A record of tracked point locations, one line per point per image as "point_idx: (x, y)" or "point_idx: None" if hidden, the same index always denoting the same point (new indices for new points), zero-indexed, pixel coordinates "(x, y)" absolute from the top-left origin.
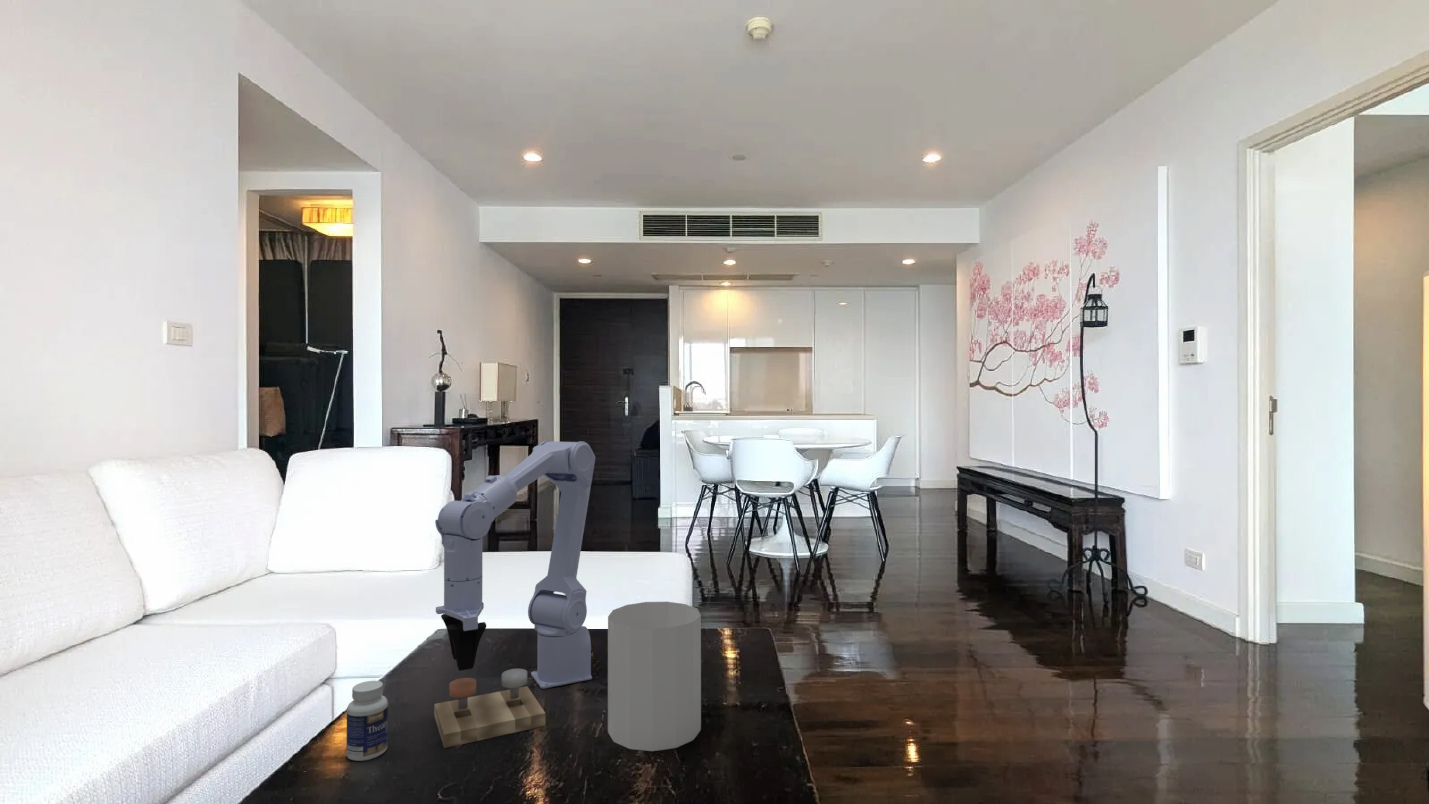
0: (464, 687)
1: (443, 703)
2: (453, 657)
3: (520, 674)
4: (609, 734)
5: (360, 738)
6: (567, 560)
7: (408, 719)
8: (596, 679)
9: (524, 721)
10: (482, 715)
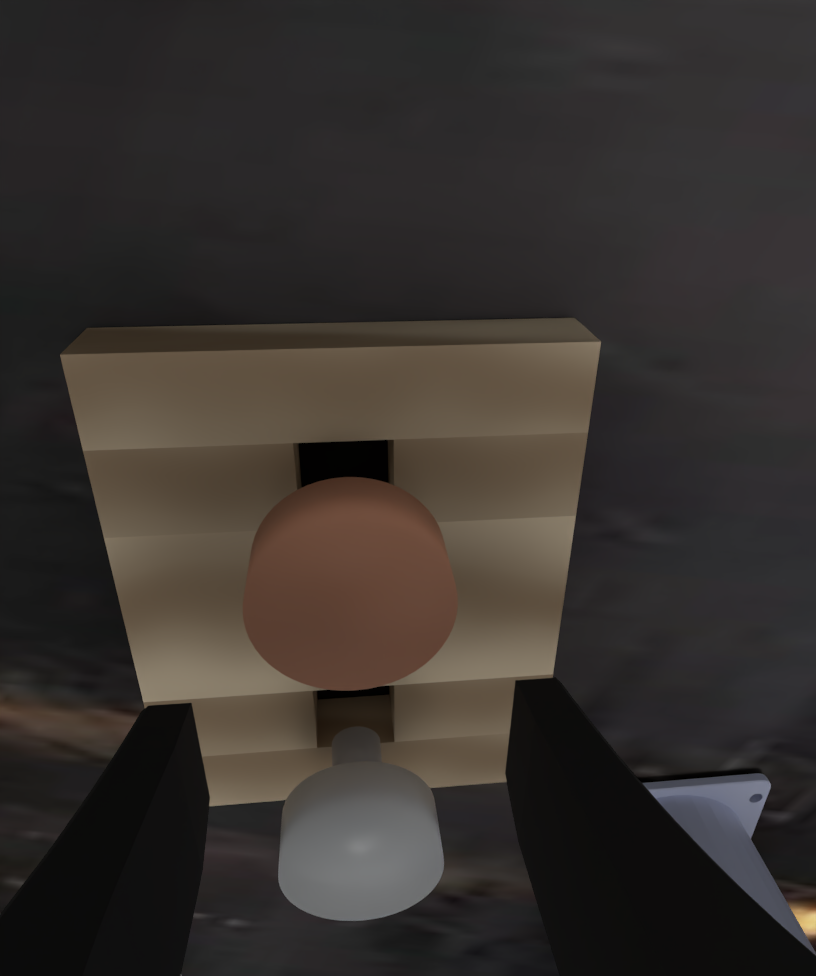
0: (244, 612)
1: (573, 395)
2: (523, 694)
3: (323, 894)
4: None
5: None
6: None
7: (632, 153)
8: (543, 934)
9: None
10: None
